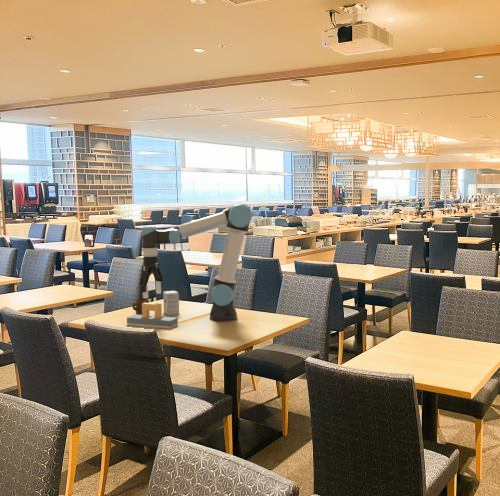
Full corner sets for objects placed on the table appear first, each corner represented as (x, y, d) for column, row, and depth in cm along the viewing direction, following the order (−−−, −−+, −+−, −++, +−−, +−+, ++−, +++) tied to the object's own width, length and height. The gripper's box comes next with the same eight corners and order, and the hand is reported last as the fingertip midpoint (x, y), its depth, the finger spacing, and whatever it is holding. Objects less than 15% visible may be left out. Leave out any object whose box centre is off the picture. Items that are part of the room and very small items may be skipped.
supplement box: (163, 312, 332) (162, 291, 331) (175, 311, 335) (175, 290, 334) (167, 315, 325) (166, 293, 324) (179, 313, 328) (179, 292, 327)
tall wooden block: (161, 323, 301) (161, 303, 300) (159, 324, 299) (158, 304, 298) (145, 321, 305) (144, 302, 304) (142, 323, 302) (141, 303, 301)
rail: (177, 325, 301) (177, 317, 301) (170, 328, 294) (170, 320, 293) (135, 321, 310) (134, 314, 310) (127, 324, 303) (126, 317, 302)
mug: (138, 319, 316) (138, 302, 315) (127, 318, 319) (127, 301, 318) (152, 315, 326) (151, 299, 325) (141, 313, 330) (141, 297, 329)
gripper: (155, 253, 311) (157, 291, 313) (131, 258, 288) (133, 300, 290) (168, 253, 308) (169, 291, 311) (144, 258, 285) (146, 300, 287)
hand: (152, 295), depth 300 cm, fingers open, 13 cm apart
